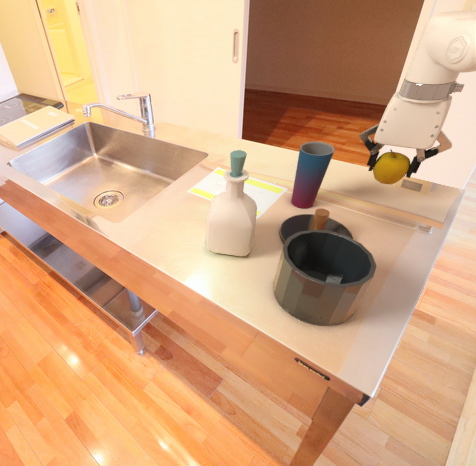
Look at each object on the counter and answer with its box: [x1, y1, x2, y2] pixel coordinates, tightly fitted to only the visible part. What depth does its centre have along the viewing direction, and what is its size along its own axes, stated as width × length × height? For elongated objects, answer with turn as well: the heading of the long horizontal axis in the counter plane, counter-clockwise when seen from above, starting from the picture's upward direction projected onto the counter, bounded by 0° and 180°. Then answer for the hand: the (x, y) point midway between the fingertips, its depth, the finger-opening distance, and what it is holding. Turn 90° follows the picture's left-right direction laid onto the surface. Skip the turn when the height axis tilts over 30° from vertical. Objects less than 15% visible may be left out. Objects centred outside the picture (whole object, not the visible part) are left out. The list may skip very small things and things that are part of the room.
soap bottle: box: [205, 149, 258, 257], centre depth 66 cm, size 10×10×23 cm
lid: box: [279, 207, 354, 243], centre depth 69 cm, size 14×14×7 cm
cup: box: [290, 141, 336, 210], centre depth 76 cm, size 7×7×15 cm
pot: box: [272, 230, 377, 327], centre depth 57 cm, size 13×13×10 cm
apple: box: [372, 149, 411, 185], centre depth 72 cm, size 6×6×8 cm
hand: (389, 171), depth 73 cm, fingers closed on apple, 6 cm apart
